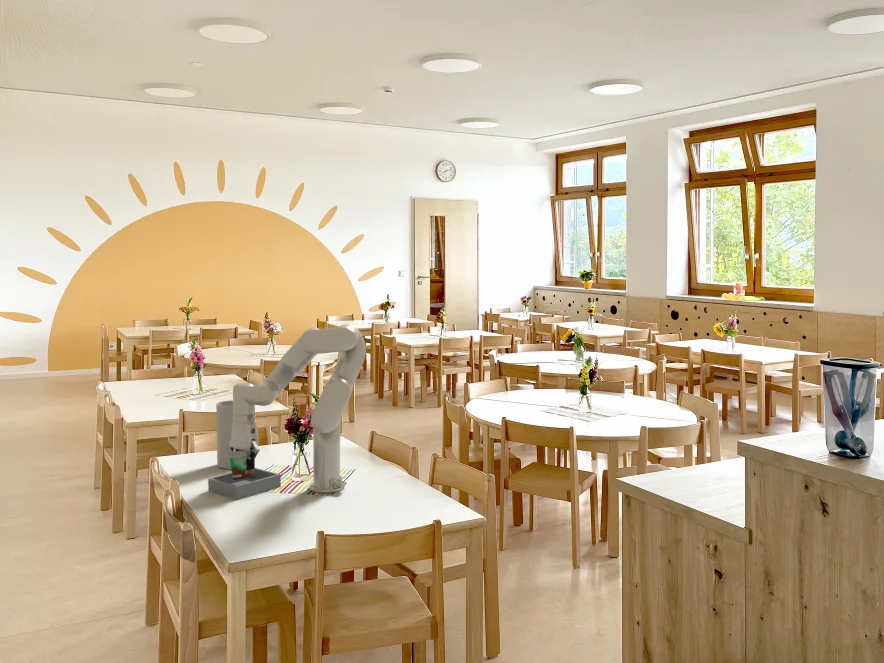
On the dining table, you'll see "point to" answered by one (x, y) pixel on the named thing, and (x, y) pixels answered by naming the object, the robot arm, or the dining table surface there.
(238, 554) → the dining table surface
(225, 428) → the cylinder vase
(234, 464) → the food container
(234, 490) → the bin
